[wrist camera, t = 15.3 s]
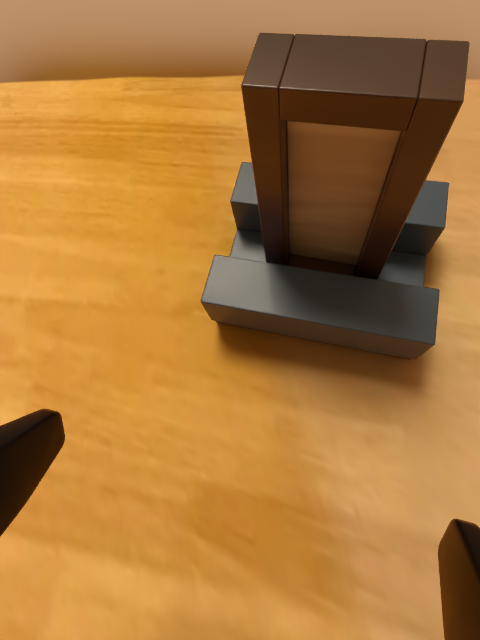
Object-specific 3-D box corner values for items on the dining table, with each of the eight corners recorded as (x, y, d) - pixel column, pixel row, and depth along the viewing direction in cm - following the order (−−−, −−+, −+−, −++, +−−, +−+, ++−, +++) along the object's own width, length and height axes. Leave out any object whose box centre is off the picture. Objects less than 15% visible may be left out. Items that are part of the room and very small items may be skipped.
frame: (371, 292, 22) (464, 101, 10) (267, 274, 24) (240, 85, 12) (377, 257, 23) (470, 40, 11) (275, 241, 24) (258, 31, 12)
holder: (410, 364, 22) (435, 345, 18) (215, 326, 24) (199, 301, 20) (424, 225, 25) (449, 182, 21) (249, 203, 27) (241, 161, 23)
